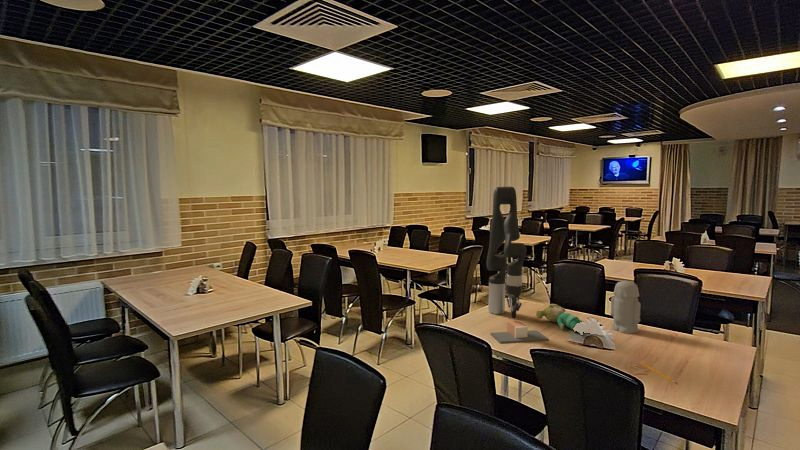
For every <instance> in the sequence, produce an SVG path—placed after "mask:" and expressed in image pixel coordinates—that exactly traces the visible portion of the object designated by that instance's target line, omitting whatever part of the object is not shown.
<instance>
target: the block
mask: <svg viewBox="0 0 800 450" xmlns="http://www.w3.org/2000/svg"><path fill="white" fill-rule="evenodd" d="M528 331H529V327H528V326H527V325H526V324H524V323H523V322H522V321H520V320H519V319H518V320H517V319H516V320H507V321H506V332H509V333H510V334H511V335H513V336H514V337H515V338H522V337H528Z"/></svg>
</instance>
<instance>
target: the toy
mask: <svg viewBox="0 0 800 450" xmlns="http://www.w3.org/2000/svg"><path fill="white" fill-rule="evenodd" d="M535 317H536V318H537V320H538V319H540V320H541V319H543V317H545V318H546V319H547V320H548V321H549V322H552V323H557V325H558V326H559V327H560V330H561V331H562V330H564V328H565V326H566V327H567V328H569V329H570V330H572V329H573V328H574V327H575V325H576V324H577V323H580V322H582V321H583V320H581V319H580V318H579V316H576V315H575V314H572V313H568V312H566V308H564V307H562V306H561V305H559V304H557V303H556V304H555V303H550V304H547V306H546V307H545V308H544V309H543V310H537V311H536V316H535Z"/></svg>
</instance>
